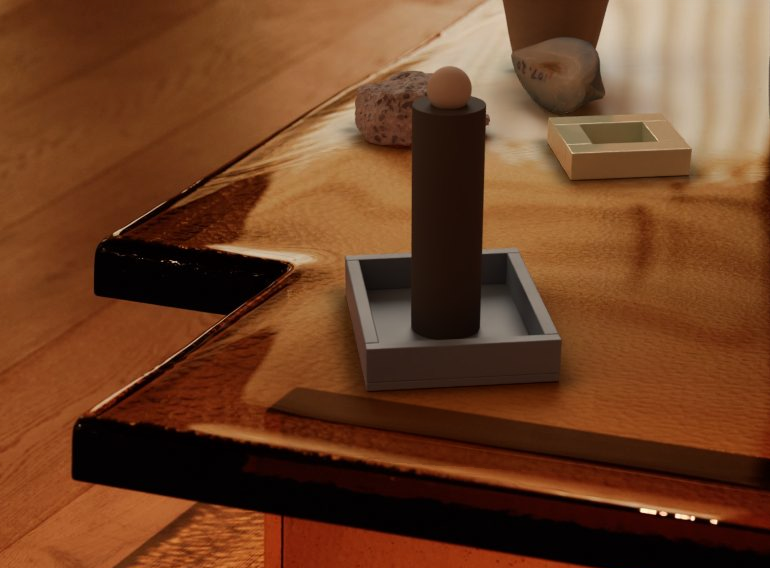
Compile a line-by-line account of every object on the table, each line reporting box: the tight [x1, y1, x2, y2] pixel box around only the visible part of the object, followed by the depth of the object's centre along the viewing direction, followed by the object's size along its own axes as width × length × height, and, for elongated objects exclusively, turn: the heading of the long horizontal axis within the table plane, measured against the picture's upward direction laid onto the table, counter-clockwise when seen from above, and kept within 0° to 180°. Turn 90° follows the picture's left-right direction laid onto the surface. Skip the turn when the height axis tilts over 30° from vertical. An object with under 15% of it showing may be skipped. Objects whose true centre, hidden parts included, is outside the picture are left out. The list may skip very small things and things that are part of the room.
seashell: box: [510, 37, 606, 115], centre depth 131 cm, size 6×9×10 cm
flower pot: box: [502, 0, 610, 53], centre depth 139 cm, size 12×11×10 cm
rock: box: [354, 70, 491, 147], centre depth 125 cm, size 9×11×4 cm
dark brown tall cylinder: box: [410, 65, 487, 340], centre depth 89 cm, size 4×4×15 cm
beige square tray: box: [546, 112, 693, 181], centre depth 119 cm, size 9×9×2 cm
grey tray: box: [344, 247, 563, 392], centre depth 92 cm, size 14×11×2 cm
